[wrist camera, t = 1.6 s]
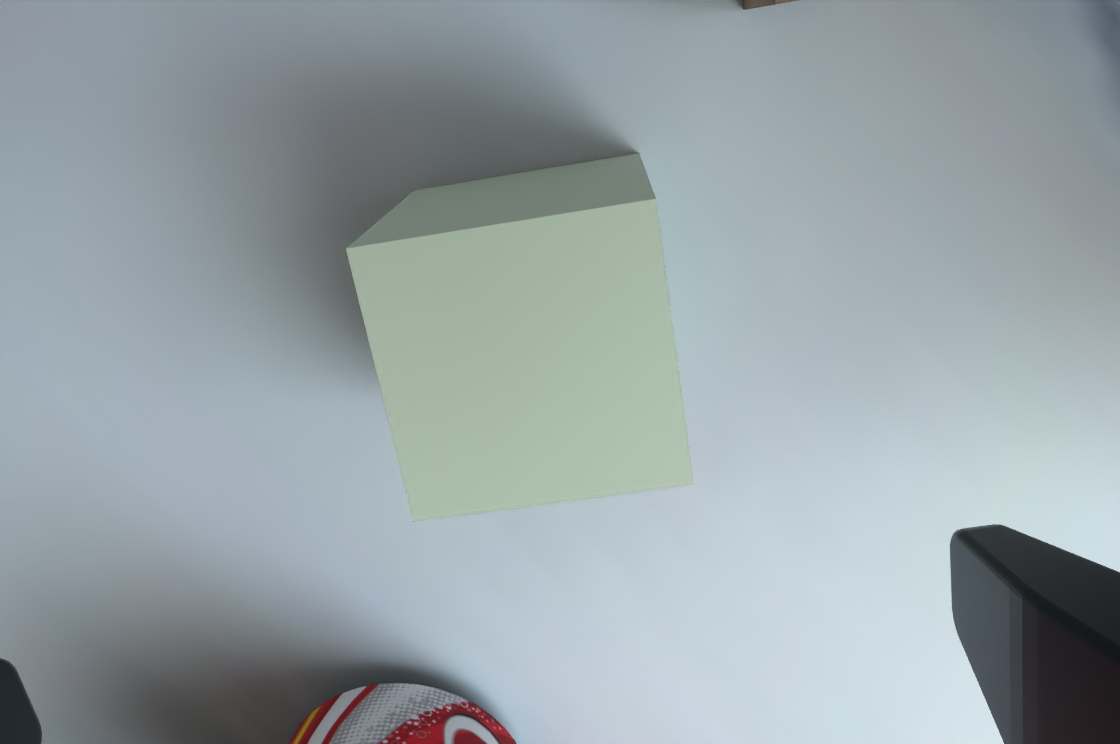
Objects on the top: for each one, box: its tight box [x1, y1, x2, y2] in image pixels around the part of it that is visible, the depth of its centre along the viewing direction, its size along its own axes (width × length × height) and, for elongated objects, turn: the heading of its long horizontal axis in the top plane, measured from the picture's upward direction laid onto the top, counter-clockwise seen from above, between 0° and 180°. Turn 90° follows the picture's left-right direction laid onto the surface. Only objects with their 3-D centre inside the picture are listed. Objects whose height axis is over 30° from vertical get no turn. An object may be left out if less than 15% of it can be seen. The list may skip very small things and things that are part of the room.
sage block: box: [346, 153, 694, 522], centre depth 18 cm, size 5×5×6 cm
